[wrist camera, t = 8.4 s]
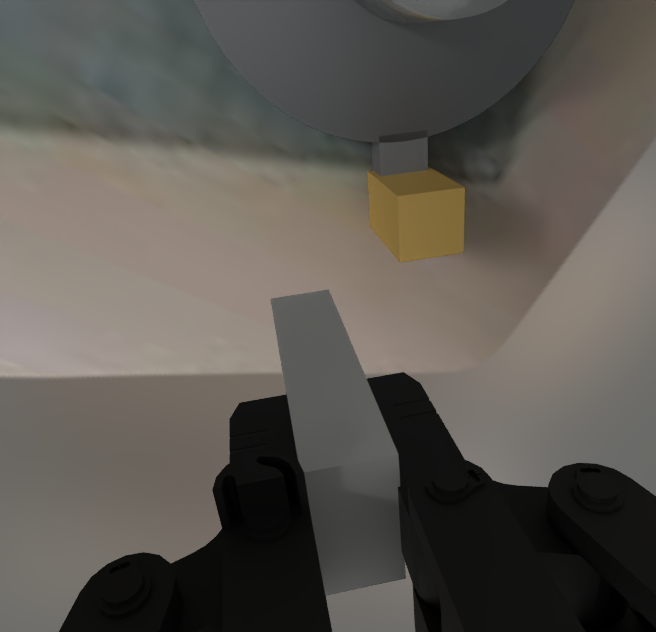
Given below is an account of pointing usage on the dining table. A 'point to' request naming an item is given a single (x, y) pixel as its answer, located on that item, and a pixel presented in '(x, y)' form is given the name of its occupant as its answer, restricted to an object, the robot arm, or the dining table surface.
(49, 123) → the dining table surface
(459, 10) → the cover
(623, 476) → the robot arm
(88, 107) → the dining table surface
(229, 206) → the dining table surface
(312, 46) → the turntable
